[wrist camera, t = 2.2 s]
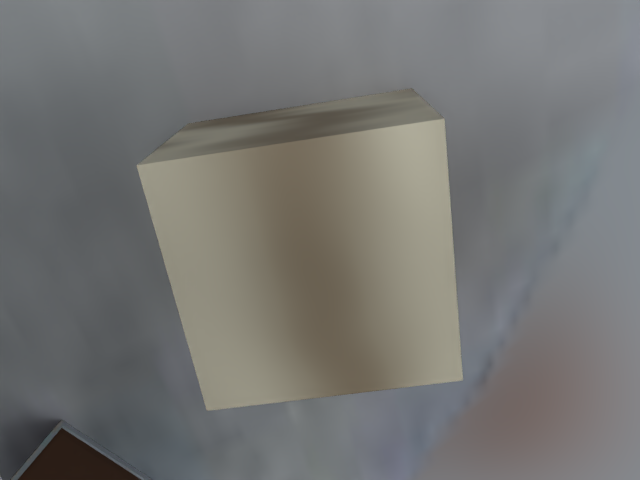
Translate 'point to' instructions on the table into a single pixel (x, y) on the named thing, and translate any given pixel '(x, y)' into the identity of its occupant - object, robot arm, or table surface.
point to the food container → (74, 459)
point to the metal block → (310, 249)
